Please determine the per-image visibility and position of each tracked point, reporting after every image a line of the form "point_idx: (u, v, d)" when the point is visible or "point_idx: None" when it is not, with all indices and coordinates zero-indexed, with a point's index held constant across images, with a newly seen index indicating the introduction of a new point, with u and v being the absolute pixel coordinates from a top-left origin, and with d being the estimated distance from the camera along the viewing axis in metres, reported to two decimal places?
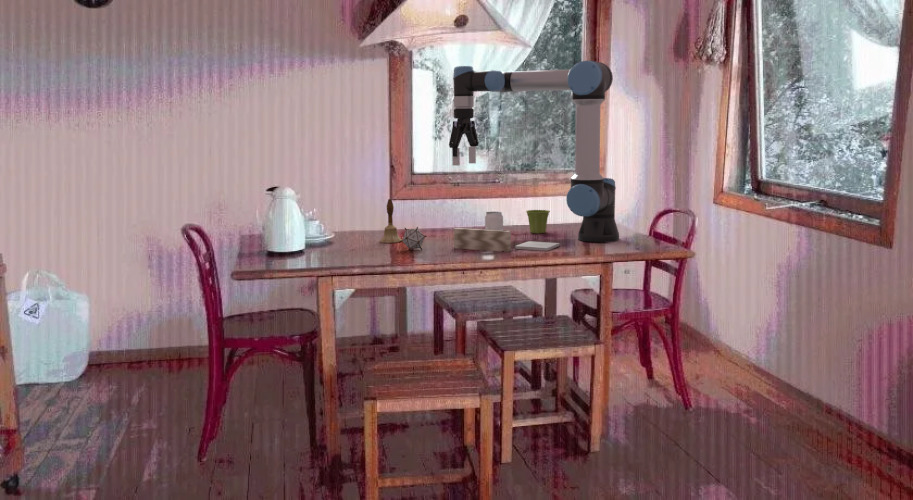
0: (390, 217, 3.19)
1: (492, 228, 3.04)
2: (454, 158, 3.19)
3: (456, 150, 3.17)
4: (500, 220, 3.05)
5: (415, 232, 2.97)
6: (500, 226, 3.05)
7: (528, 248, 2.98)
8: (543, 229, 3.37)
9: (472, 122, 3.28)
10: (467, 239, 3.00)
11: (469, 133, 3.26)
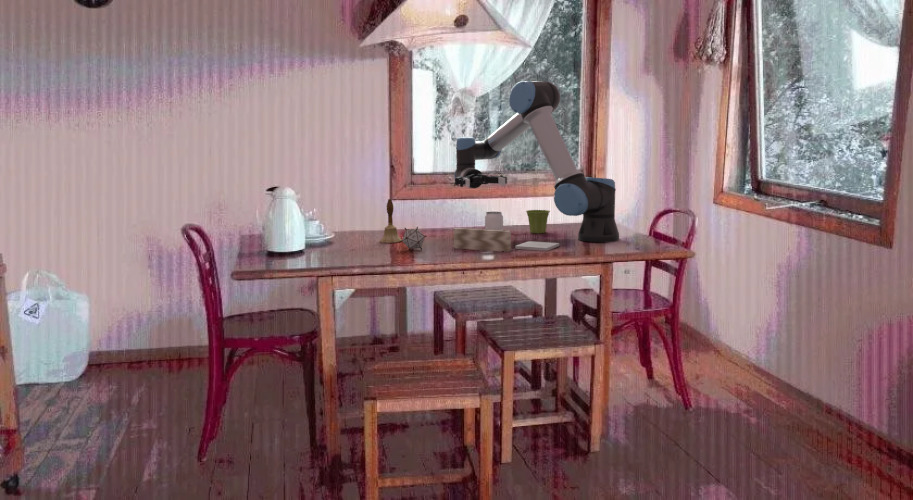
0: (390, 217, 3.19)
1: (492, 228, 3.04)
2: (465, 183, 3.15)
3: (462, 179, 3.18)
4: (500, 220, 3.05)
5: (415, 232, 2.97)
6: (500, 226, 3.05)
7: (528, 248, 2.98)
8: (543, 229, 3.37)
9: (489, 176, 3.30)
10: (467, 239, 3.00)
11: (486, 177, 3.26)
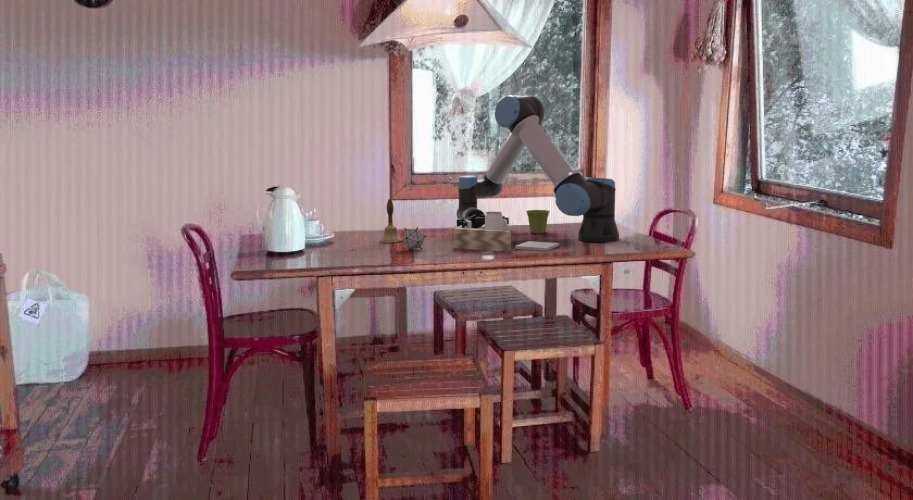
0: (390, 217, 3.19)
1: (492, 228, 3.04)
2: (467, 225, 3.14)
3: (464, 221, 3.16)
4: (500, 220, 3.05)
5: (415, 232, 2.97)
6: (500, 226, 3.05)
7: (528, 248, 2.98)
8: (543, 229, 3.37)
9: None
10: (467, 239, 3.00)
11: None
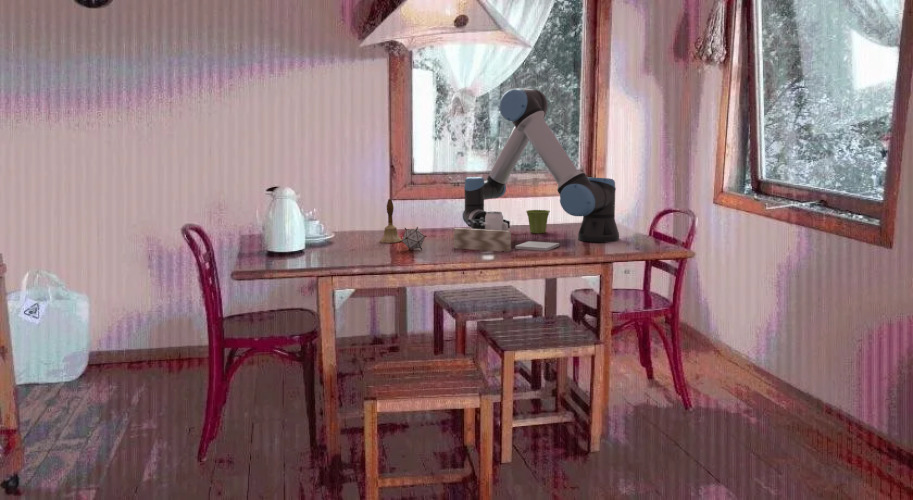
0: (390, 217, 3.19)
1: (492, 228, 3.04)
2: (485, 228, 3.04)
3: (481, 224, 3.07)
4: (500, 220, 3.05)
5: (415, 232, 2.97)
6: (500, 226, 3.05)
7: (528, 248, 2.98)
8: (543, 229, 3.37)
9: None
10: (467, 239, 3.00)
11: None
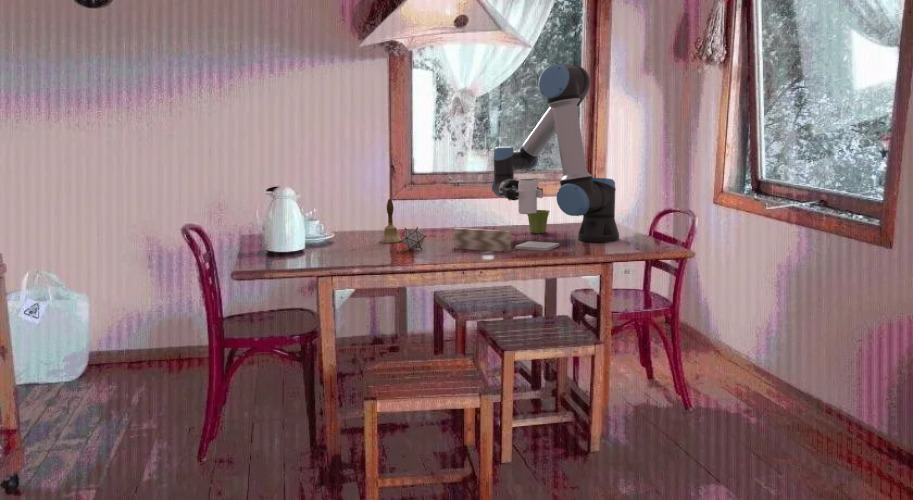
0: (390, 217, 3.19)
1: (526, 195, 2.98)
2: (519, 195, 2.98)
3: (515, 191, 3.01)
4: (534, 187, 2.99)
5: (415, 232, 2.97)
6: (534, 193, 2.99)
7: (528, 248, 2.98)
8: (543, 229, 3.37)
9: None
10: (467, 239, 3.00)
11: None
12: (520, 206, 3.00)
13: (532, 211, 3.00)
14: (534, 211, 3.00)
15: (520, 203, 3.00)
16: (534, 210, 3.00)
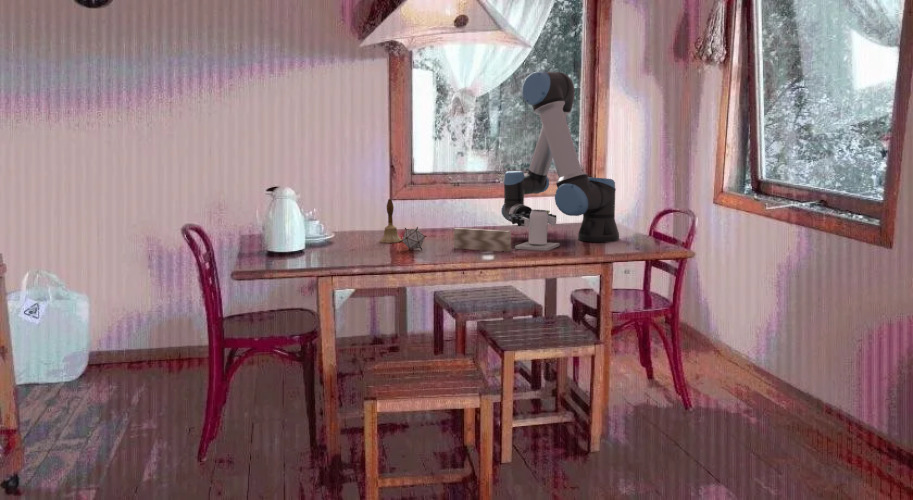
0: (390, 217, 3.19)
1: (537, 226, 2.99)
2: (524, 223, 2.98)
3: (520, 219, 3.01)
4: (546, 218, 2.99)
5: (415, 232, 2.97)
6: (545, 224, 2.99)
7: (528, 248, 2.98)
8: None
9: None
10: (467, 239, 3.00)
11: None
12: (530, 236, 3.01)
13: (542, 242, 3.00)
14: (544, 242, 3.00)
15: (530, 233, 3.00)
16: (544, 241, 3.00)
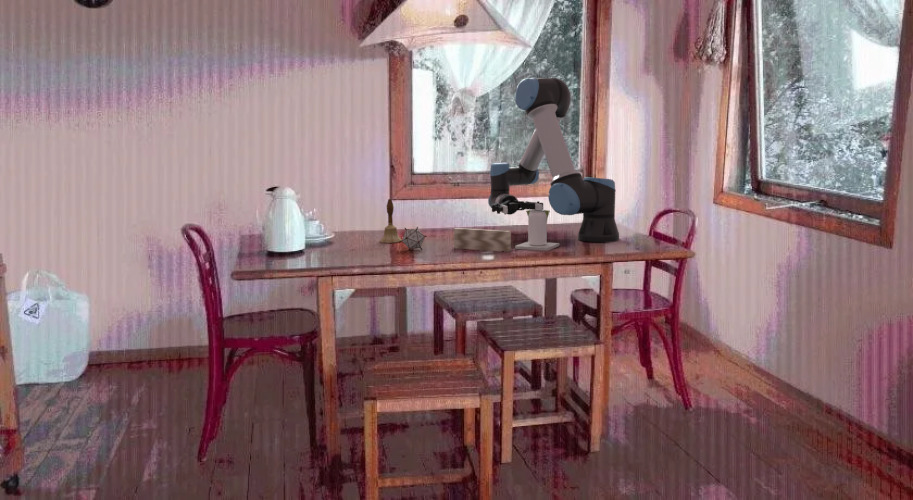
0: (390, 217, 3.19)
1: (536, 227, 2.98)
2: (503, 210, 3.14)
3: (499, 206, 3.16)
4: (544, 218, 2.99)
5: (415, 232, 2.97)
6: (544, 225, 2.99)
7: (528, 248, 2.98)
8: None
9: (525, 202, 3.29)
10: (467, 239, 3.00)
11: (522, 204, 3.25)
12: (530, 237, 3.01)
13: (542, 242, 3.00)
14: (544, 243, 3.00)
15: (530, 235, 3.00)
16: (544, 242, 3.00)
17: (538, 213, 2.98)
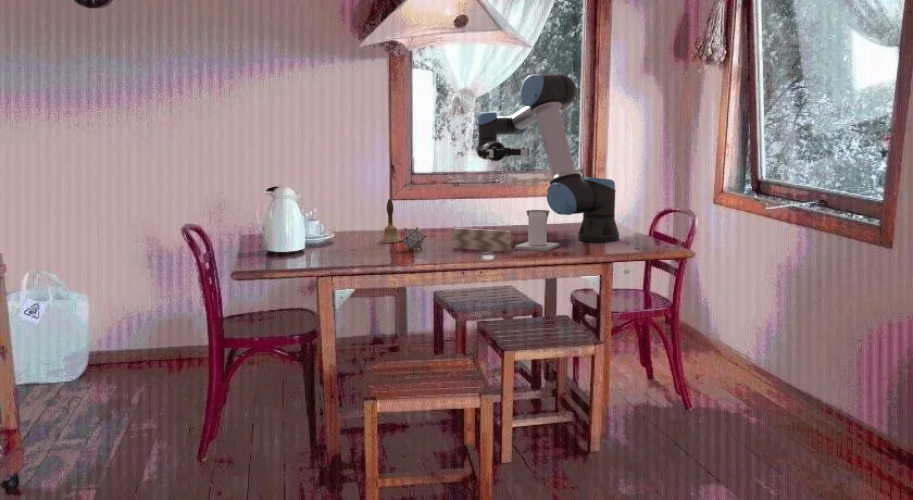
0: (390, 217, 3.19)
1: (536, 227, 2.98)
2: (489, 154, 3.23)
3: (486, 151, 3.26)
4: (544, 218, 2.99)
5: (415, 232, 2.97)
6: (544, 225, 2.99)
7: (528, 248, 2.98)
8: None
9: (511, 149, 3.39)
10: (467, 239, 3.00)
11: (508, 150, 3.34)
12: (530, 237, 3.01)
13: (542, 242, 3.00)
14: (544, 243, 3.00)
15: (530, 235, 3.00)
16: (544, 242, 3.00)
17: (538, 213, 2.98)
